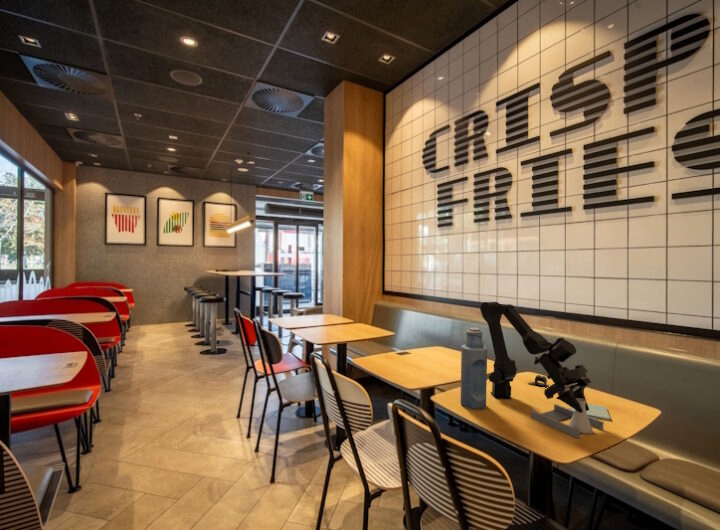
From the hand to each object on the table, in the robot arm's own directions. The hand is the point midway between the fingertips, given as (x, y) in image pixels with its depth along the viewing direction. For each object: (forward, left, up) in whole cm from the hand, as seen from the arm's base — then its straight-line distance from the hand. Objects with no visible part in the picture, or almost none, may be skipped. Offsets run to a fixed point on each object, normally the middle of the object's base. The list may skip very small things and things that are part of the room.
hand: (585, 411), depth 121 cm
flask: (-1, +1, -7) cm, 7 cm away
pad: (+11, +17, -7) cm, 21 cm away
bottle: (-31, +20, -7) cm, 38 cm away
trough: (-3, +6, -7) cm, 9 cm away
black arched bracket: (+6, +45, -7) cm, 46 cm away
